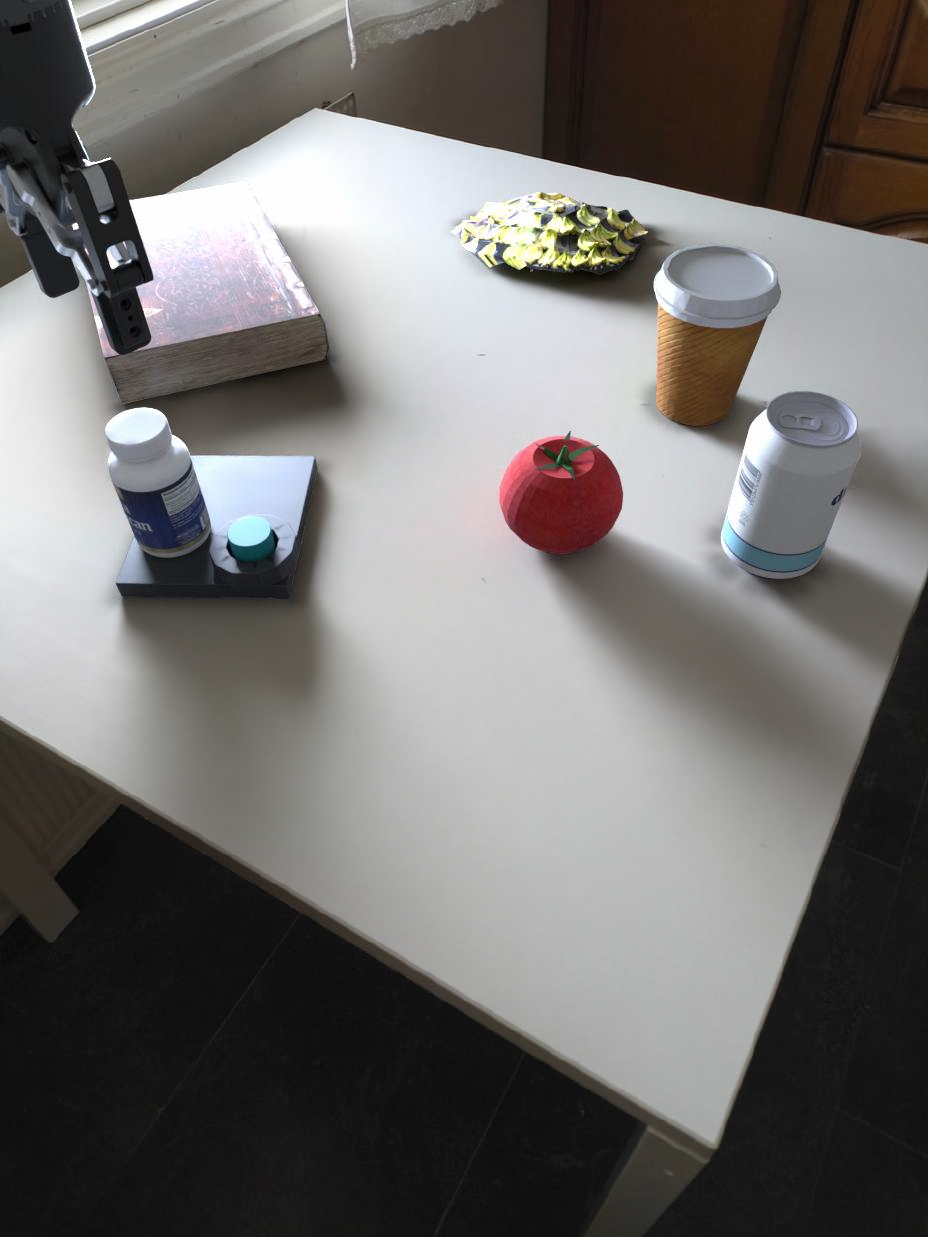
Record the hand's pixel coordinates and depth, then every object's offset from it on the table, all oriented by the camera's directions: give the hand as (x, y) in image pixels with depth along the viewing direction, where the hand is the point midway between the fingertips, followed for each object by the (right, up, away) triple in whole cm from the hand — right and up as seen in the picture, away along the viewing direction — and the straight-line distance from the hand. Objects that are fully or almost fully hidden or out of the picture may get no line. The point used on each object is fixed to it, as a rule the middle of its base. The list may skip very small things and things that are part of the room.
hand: (96, 318), depth 53 cm
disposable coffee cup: (+41, +1, +24) cm, 48 cm away
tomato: (+28, -11, +15) cm, 34 cm away
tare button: (+7, -13, +10) cm, 18 cm away
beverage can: (+43, -13, +13) cm, 47 cm away
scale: (+3, -11, +15) cm, 19 cm away
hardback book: (-5, +14, +37) cm, 40 cm away
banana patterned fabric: (+30, +22, +43) cm, 57 cm away
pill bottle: (0, -12, +13) cm, 18 cm away
